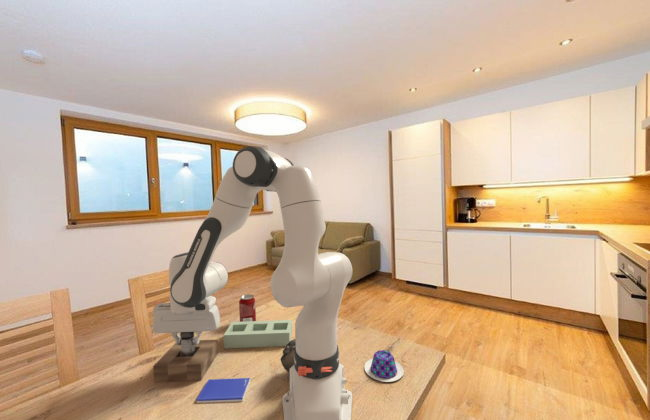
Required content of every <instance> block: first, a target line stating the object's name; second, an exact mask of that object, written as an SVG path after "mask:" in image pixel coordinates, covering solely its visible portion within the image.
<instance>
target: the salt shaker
mask: <svg viewBox="0 0 650 420" xmlns="http://www.w3.org/2000/svg"><path fill="white" fill-rule="evenodd" d="M179 333H180V334H179V336H180V337H181V357H190V356H194V354H195V344H193V339H194V338H195V332H179Z"/></svg>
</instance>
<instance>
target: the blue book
mask: <svg viewBox="0 0 650 420" xmlns="http://www.w3.org/2000/svg"><path fill="white" fill-rule="evenodd" d="M250 383H251V377H240V378H239V377H238V378H217V379H216V378H214V379H208V380H207V381H206V383H205V385H204V386H203V387H202V389H201V391H200V393H199V394H198V396H197V398H196V404H197V403H199V404H200V403H204V404H205V403H229V402H232V403H233V402H243V401H244V400H245V399H244V398H245V397H246V394H247V390H248V388H249V386H250Z"/></svg>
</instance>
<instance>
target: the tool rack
mask: <svg viewBox="0 0 650 420" xmlns="http://www.w3.org/2000/svg"><path fill="white" fill-rule="evenodd" d="M292 333H293V320H292V319H277V320H256V321H246V322H240V321H232V322H230V324H229V326H228V328H227V329H226V331H225V332H224V334H223V335H222V337H223V349H247V348H248V349H249V348H251V349H252V348H272V347H273V348H274V347H275V348H276V347H286V345H287V344H288V343H289V342H290V341H291V340H292Z"/></svg>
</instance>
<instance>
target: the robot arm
mask: <svg viewBox="0 0 650 420" xmlns="http://www.w3.org/2000/svg"><path fill="white" fill-rule="evenodd" d="M263 190H264V191H266V192H276V193H277V196H278V201H279V206H280V207H279V208H280V213H281V217H282V223H283V229H284V246H283V252H282V256H281V259H280V262H279V264H278V266H277V267H276V269H275V270H274V271H273V272H272V274H271V278H270V291H271V294H272V295H271V296H272V297H273V299H274V300H275V301H276V302H277V303H278V304H279V305H280V306H281V307H283V308H295V307H302V306H303V307H302V308H301V310H300V311H299V312H298V314H297V316H296V319H295V322H294V328H295V329H294V332H295V333H294V334H295V337H294V339H295V340H296V347H295V349H294V365H293V366H292V367H291V368H290V382H289V390H288V392H286V393H285V394H284V395H282V398H281V399H282V400H281V401H282V402H281V403H282V411H283V420H352V410H353V393H352V392H351V391H350V390H348V389H345V385H347V377H345V366H344V365H343V364H342V363H340V350H339V345H338V318H339V311H340V309H341V307H340V306H341V303H342V300H343V296H344V293H345V290H346V288H347V286H348V284H349V282H350V281H351V279H352V277H353V273H354V272H353V271H354V270H353V266H352V263H351V261H350V258H349V257H347V256H346V255H345V254H343V253H342V252H337V251H325V252H320V253H319V246H320V241H321V240H322V237H323V236H324V234H325V233H326V231H327V230H326V229H327V225H326V222H325V216H324V212H323V207H322V202H321V201H322V200H321V197H320V196H321V195H320V193H319V189H318V186H317V184H316V181H315V178H314V175H313V173H312V171H311V170H310V169H309V168H308V167H306V166H303V165H300V164H299V165H297V164H294V163H293V162H292V161H291V160H290V159H288V158H286V157H283V156H282V155H279V154H278V153H276V152H274V151H271V150H269V149H264V148H262V147H260V146H253V145H251V146H245V147H242V148H240V149H239V150H237V152H236V153H235V156H234V157H233V161H232V166H231V167H229V168H228V169H227V170H226V172H225V174H224V175H223V177H222V179H221V181H220V184H219V185H218V187H217V191H216V193H215V197H214V200H213V203H212V205H211V208H210V209H209V212H208V214H207V215H206V217H205V218H204V220H203V221H202V223H201V225H200V226H199V228H198V230H197V232H196V234H195V237H194V239H193V241H192V243H191V245H190V247H189V248H190V249H189V250H188V252H184V253H179V254H175V255H174V256H172V257H171V258H170V263H169V267H168V281H169V286H170V287H169V289H170V290H169V291H170V293H169V300H170V301H169V302H159V303H157V304H156V305H154V307H153V309H152V312H153V313H152V314H153V320H152V331H153V332H154V334H168V333H169V334H170V333H171V337H172V338H173V340H174V341H175V343H176V345H181V337H180V334H179V333H180V332H194V333H195V335H196V336H194V339H193V344H198V343H199V341H200V340H201V338H200V337H201V335H202V333H203V332H215V331H216V330H217V329H218V328H219V327H220V325H221V316H220V310H219V307H218V306H217V305H216V302H217V297H215V296H213V295H214V294H216V293H217V292H219V291H221V290H222V289H224V288H225V286H226V285H227V284H228V281H229V272H228V270H227V268H226V267H225V265H224V264H222V263H221V262H219V261H212V258H213V257H214V254H215V252H216V250H217V248H218V246H219V245H220V244H221V243H222V242H223V241H224V240H225V239H227V238H228V237H230V236H231V235H233V233H235V232H237V231H239V230H240V229H241V228H243V226H244V225H245V224H246V222H247V221H248V219H249V216H250V214H251V212H252V208H253V205H254V202H255V199H256V196H257V195H258V193H259V192H261V191H263Z"/></svg>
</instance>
